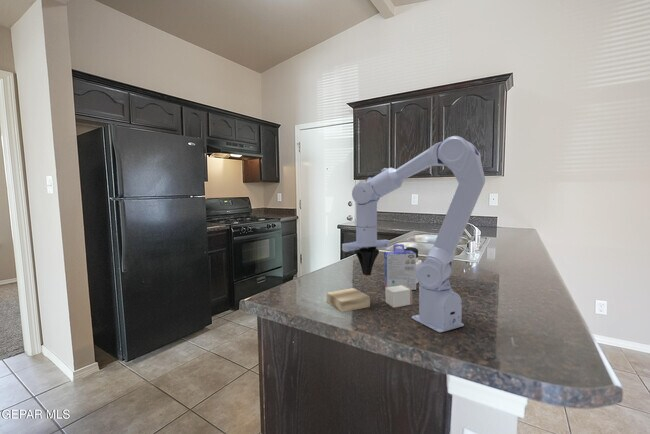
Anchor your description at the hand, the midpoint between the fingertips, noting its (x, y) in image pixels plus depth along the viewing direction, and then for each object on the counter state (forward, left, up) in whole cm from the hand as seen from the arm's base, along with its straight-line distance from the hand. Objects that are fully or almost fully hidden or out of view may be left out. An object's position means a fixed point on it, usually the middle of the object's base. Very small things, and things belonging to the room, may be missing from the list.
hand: (366, 274), depth 86 cm
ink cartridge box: (+8, -19, -9) cm, 23 cm away
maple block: (+3, +4, -9) cm, 11 cm away
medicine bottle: (+14, -27, -9) cm, 32 cm away
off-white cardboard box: (-2, -6, -7) cm, 9 cm away
